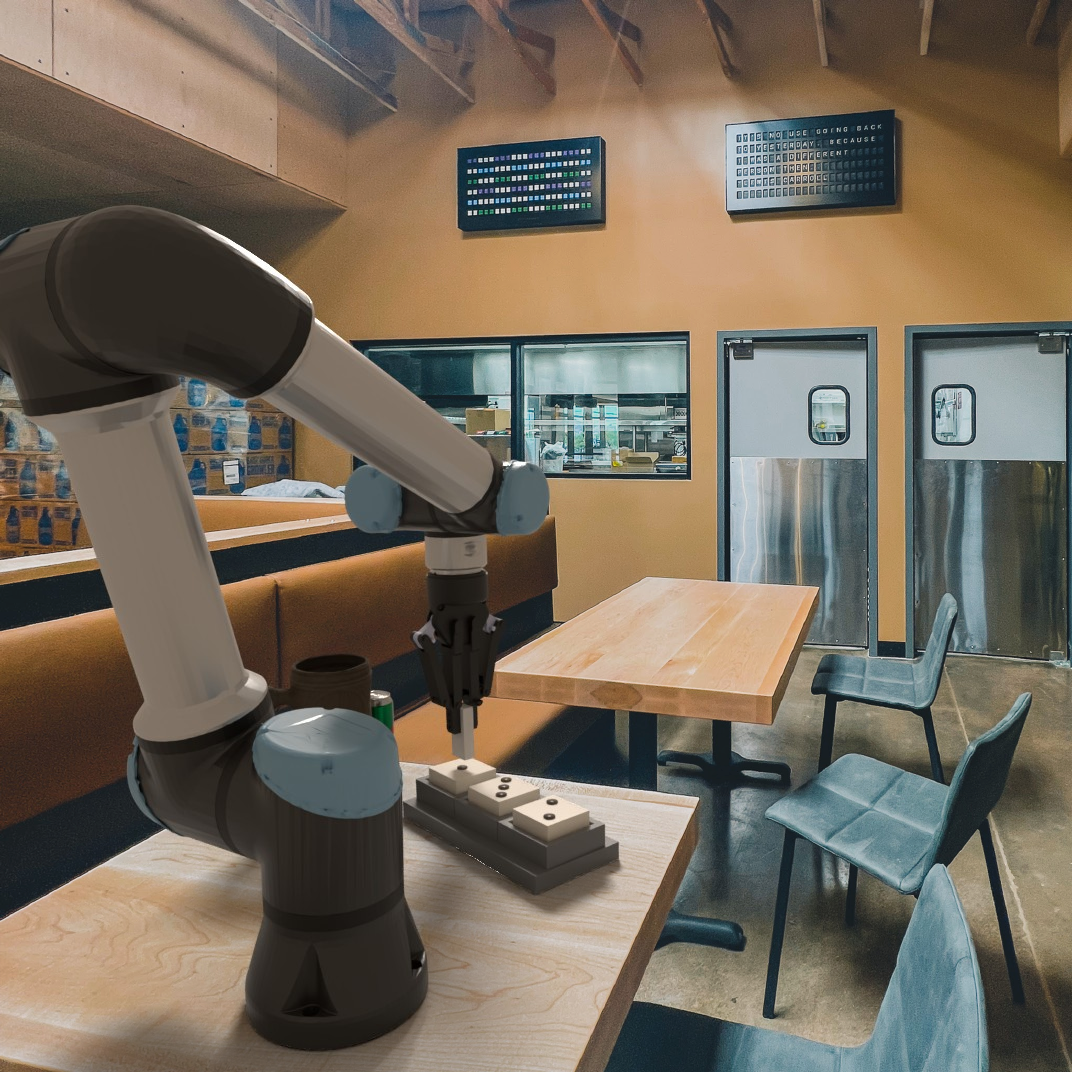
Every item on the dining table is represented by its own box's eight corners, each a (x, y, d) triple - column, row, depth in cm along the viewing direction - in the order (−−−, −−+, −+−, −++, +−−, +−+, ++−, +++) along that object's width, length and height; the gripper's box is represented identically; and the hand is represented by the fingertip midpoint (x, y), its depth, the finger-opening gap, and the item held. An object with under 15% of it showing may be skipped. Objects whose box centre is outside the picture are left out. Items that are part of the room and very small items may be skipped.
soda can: (379, 769, 128) (376, 687, 127) (403, 777, 125) (400, 693, 124) (351, 780, 125) (348, 695, 123) (375, 788, 121) (372, 702, 120)
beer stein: (354, 787, 122) (339, 645, 119) (402, 809, 114) (387, 657, 111) (249, 830, 111) (230, 675, 108) (294, 857, 104) (274, 691, 100)
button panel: (535, 895, 92) (535, 853, 92) (403, 816, 112) (402, 781, 112) (618, 859, 100) (618, 820, 99) (481, 791, 120) (480, 758, 119)
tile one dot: (456, 800, 108) (456, 779, 108) (429, 786, 112) (428, 766, 112) (496, 788, 112) (495, 767, 111) (468, 774, 116) (467, 755, 116)
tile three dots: (499, 823, 101) (498, 800, 101) (468, 807, 106) (468, 785, 106) (540, 808, 105) (539, 787, 105) (508, 793, 110) (508, 773, 109)
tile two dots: (548, 848, 95) (547, 824, 94) (513, 830, 99) (512, 807, 99) (589, 832, 99) (589, 809, 98) (554, 815, 103) (553, 793, 103)
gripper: (428, 579, 102) (436, 778, 105) (517, 566, 110) (522, 751, 113) (394, 572, 108) (402, 761, 111) (481, 560, 116) (487, 736, 119)
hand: (463, 756), depth 112 cm, fingers closed
